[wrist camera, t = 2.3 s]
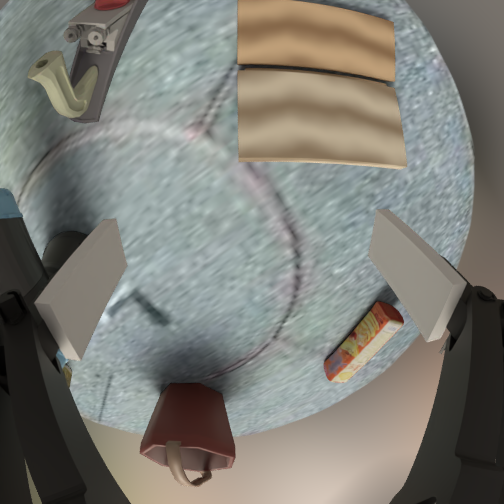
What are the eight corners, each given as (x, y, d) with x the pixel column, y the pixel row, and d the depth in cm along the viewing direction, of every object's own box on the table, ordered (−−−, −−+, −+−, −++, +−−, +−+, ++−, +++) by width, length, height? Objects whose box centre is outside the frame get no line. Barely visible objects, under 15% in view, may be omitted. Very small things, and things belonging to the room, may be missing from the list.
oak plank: (388, 81, 32) (394, 81, 30) (237, 65, 31) (237, 62, 29) (387, 24, 27) (393, 22, 25) (237, 2, 26) (238, -3, 24)
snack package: (340, 366, 63) (347, 387, 57) (319, 362, 61) (325, 385, 55) (395, 303, 54) (409, 324, 48) (375, 296, 52) (388, 318, 46)
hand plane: (62, 117, 31) (-2, 133, 18) (140, -53, 18) (108, -96, 5) (98, 126, 33) (38, 144, 20) (181, -50, 20) (161, -100, 7)
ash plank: (399, 169, 34) (407, 166, 32) (238, 161, 33) (238, 157, 31) (387, 88, 33) (393, 83, 31) (237, 73, 31) (237, 65, 29)
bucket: (227, 420, 73) (229, 494, 52) (154, 412, 70) (145, 485, 49) (236, 377, 61) (240, 475, 40) (143, 367, 59) (124, 462, 37)
